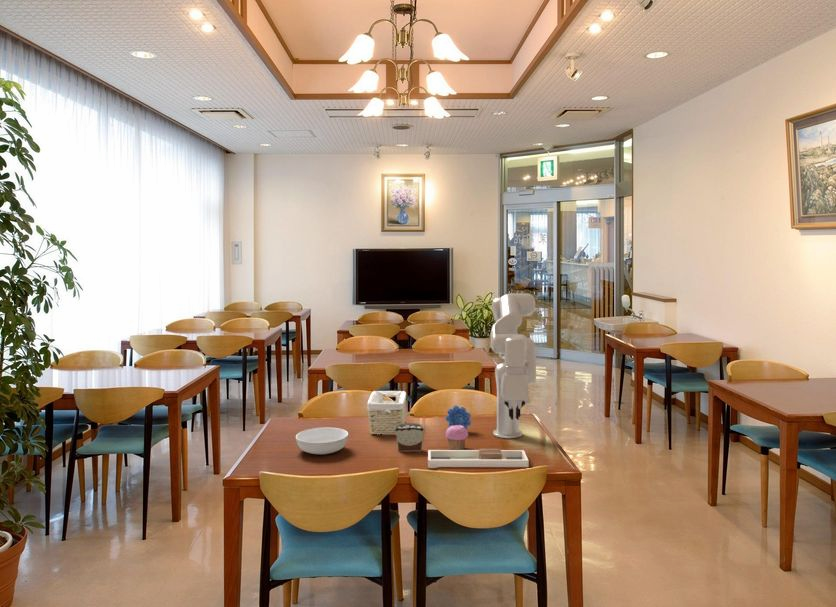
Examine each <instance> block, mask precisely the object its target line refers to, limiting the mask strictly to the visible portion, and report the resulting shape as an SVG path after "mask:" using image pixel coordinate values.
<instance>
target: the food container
mask: <svg viewBox="0 0 836 607" xmlns="http://www.w3.org/2000/svg"><path fill="white" fill-rule="evenodd" d="M395 431H396V435H395V436H396V443H397V444H396V445H397V451H398V452H422V451H423V442H424V441H423V440H424V432H426V429H425V426H424V425H423V424H422V423H421V424H420V423H416V422H405V423H403V424H399V425H397V426H396V428H395ZM395 431H394V432H395Z"/></svg>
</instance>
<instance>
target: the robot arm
mask: <svg viewBox="0 0 836 607" xmlns="http://www.w3.org/2000/svg"><path fill="white" fill-rule="evenodd" d="M491 311H492V315H493V318H494V321H495V323H493V325H492V327H491V330H490V347H491V350H492V352H493V353H495V354H498V356H499V358H500V359H503V360H504V362H501V363H498V364H497V365H496V366H495V368H494V377H495V383H496V429H494V430H493V431H492V433H493V434H492V435H493V436H495V437H497V438H502V439H517V438H520V437H522V436H523V431H522V430H520V418H521V409H522V408H523V407H524V406H525V405H526V404H530V403H531V399H530V395H529V392H530V391H529V390H530V389H529V386H530V385H531V386H532V385H534V383H536V380H537V362H536V361H537V359H536V356H537V354H536V344H535V341H534V340H533V339H532V338H530V337H527V336H526V335H525V334H521V333H520V334H519V333H518V328H519V327H520V326H521V325H522V323H523V317H531V316H532V315H533V314H534V312H535V311H536V300H535V296H533V295H532V294H531V293H517V292H516V293H511V292H510V293H506V294H504V295H502V296H498V297H496V298H494V299H493V300H492V302H491Z"/></svg>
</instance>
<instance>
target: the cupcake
mask: <svg viewBox="0 0 836 607" xmlns="http://www.w3.org/2000/svg"><path fill="white" fill-rule="evenodd" d="M468 437H469V432H468V429H467V430H466V428H465V427H464V426H461V425H454V426H451V427H449V426H448V428H447V429H446V431H445V438H446V439H447V442H448V446H449V448H450V450H465V446H466V439H467V438H468Z"/></svg>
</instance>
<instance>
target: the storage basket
mask: <svg viewBox="0 0 836 607" xmlns="http://www.w3.org/2000/svg"><path fill="white" fill-rule="evenodd" d="M388 397H389V398H395V400H385V399H384V398H388ZM406 400H407V392H406V391H405V390H373V391H372V392H371V394H370V396H369V398H368V401H367V413H368V414H367V416H368V426H369V433H370V435H373V434H377V435H378V434H379V435H380V434H382V436H387V435H388V436H393V435H394V436H396V431H395V428H396V426H397V425H399V424H403V423H406ZM394 431H395V432H394Z"/></svg>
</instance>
